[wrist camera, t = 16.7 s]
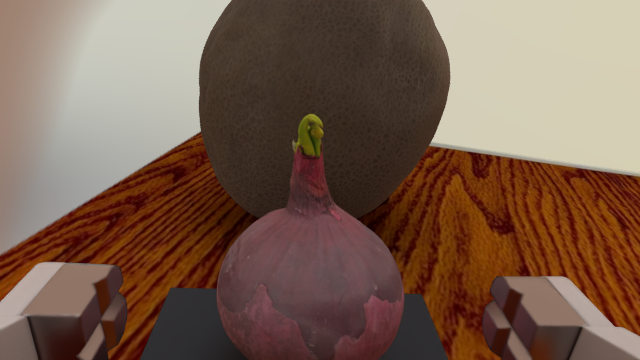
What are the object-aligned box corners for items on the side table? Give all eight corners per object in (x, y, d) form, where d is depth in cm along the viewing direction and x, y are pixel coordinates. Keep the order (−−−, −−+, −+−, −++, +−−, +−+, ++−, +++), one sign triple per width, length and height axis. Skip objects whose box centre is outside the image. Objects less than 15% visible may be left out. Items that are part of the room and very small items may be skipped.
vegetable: (221, 319, 18) (213, 85, 14) (360, 308, 19) (389, 90, 15) (217, 463, 13) (203, 148, 9) (411, 434, 14) (477, 148, 10)
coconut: (389, 312, 20) (452, -50, 14) (152, 234, 24) (122, -62, 18) (436, 197, 32) (481, -23, 26) (271, 159, 36) (276, -34, 30)
